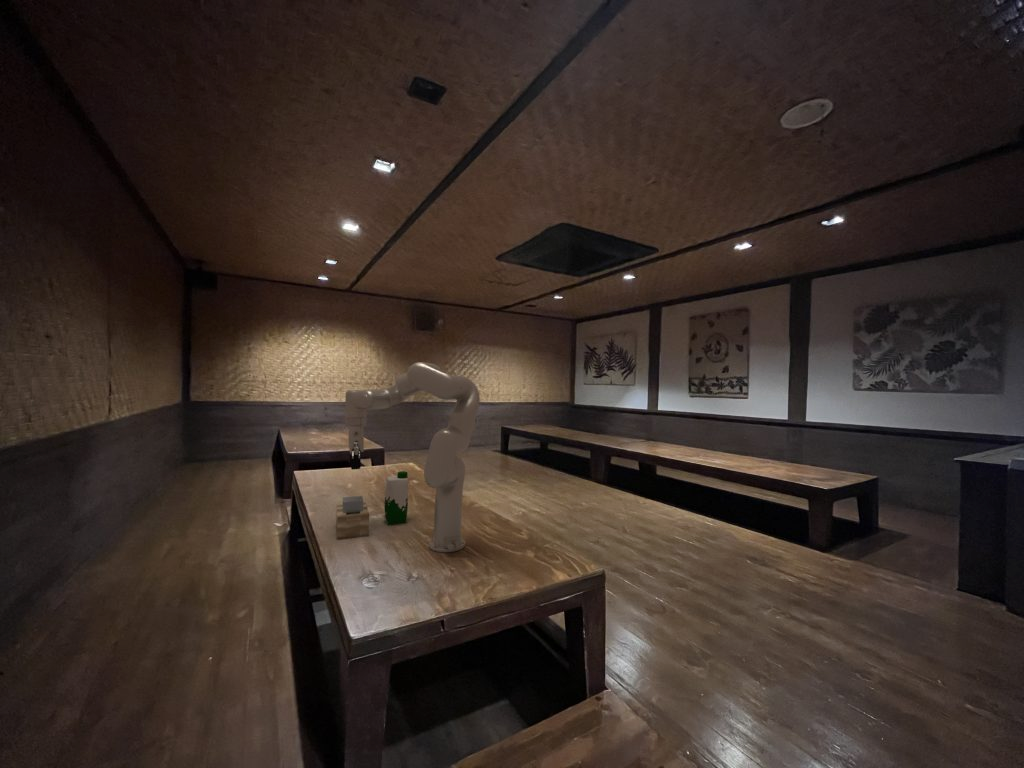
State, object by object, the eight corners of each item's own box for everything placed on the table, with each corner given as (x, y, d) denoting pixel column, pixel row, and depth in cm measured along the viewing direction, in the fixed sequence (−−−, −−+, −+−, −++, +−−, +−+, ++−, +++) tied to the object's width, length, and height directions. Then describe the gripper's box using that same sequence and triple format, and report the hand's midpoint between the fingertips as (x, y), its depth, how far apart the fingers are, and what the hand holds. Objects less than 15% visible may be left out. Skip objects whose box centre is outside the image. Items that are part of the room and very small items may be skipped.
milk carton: (408, 523, 160) (410, 474, 161) (385, 526, 157) (387, 475, 157) (404, 516, 168) (406, 469, 169) (382, 519, 164) (384, 471, 165)
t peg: (362, 527, 149) (363, 500, 149) (342, 529, 146) (343, 502, 146) (361, 521, 155) (362, 495, 156) (341, 523, 152) (342, 497, 153)
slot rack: (368, 535, 146) (369, 514, 146) (336, 539, 141) (337, 517, 141) (365, 522, 160) (365, 502, 160) (336, 525, 156) (336, 504, 156)
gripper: (368, 423, 145) (367, 470, 145) (364, 420, 161) (363, 462, 160) (345, 424, 142) (345, 471, 142) (344, 420, 158) (343, 463, 157)
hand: (355, 466), depth 151 cm, fingers open, 9 cm apart
